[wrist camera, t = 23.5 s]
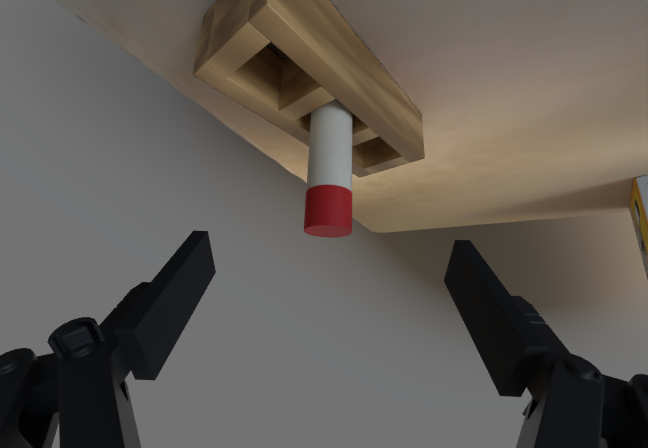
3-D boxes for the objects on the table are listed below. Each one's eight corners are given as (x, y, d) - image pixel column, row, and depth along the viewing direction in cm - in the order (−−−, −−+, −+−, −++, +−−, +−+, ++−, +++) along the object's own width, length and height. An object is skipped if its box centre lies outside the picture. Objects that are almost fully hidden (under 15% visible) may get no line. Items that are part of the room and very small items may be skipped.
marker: (336, 50, 23) (331, 222, 19) (361, 76, 26) (361, 233, 22) (304, 71, 25) (293, 230, 22) (330, 93, 28) (324, 239, 24)
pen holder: (275, -68, 16) (266, 3, 15) (422, 114, 30) (424, 158, 29) (203, 15, 21) (192, 74, 19) (359, 138, 35) (359, 177, 34)
